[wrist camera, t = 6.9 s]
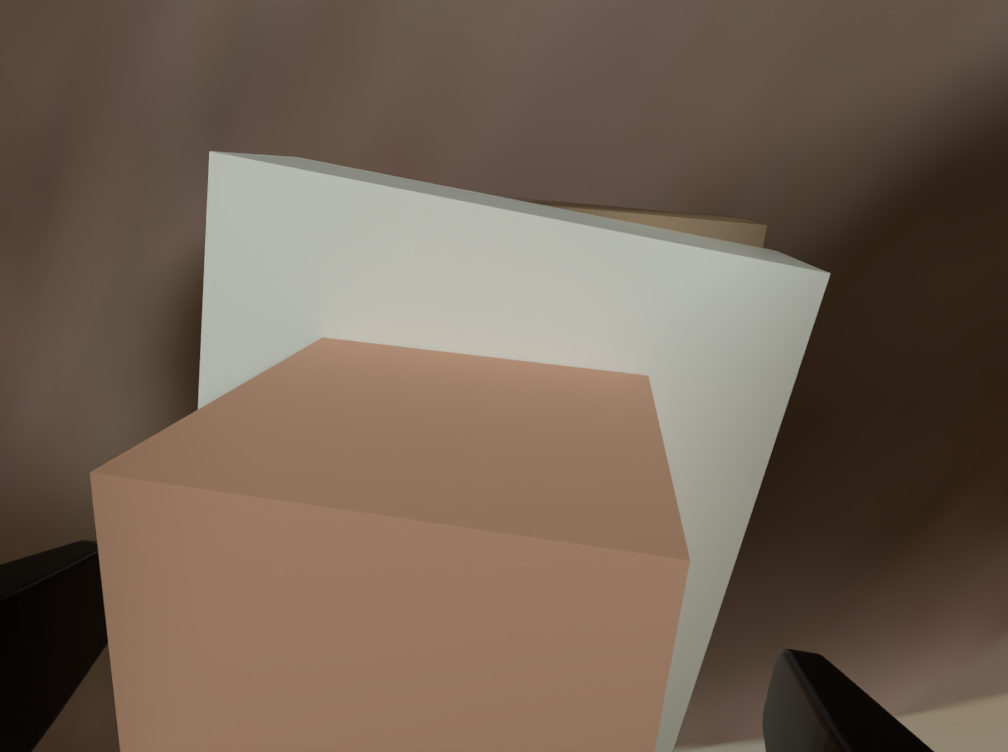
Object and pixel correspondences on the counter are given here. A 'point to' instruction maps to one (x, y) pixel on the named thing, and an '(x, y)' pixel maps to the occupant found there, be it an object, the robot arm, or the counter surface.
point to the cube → (395, 561)
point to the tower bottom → (675, 221)
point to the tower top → (523, 322)
